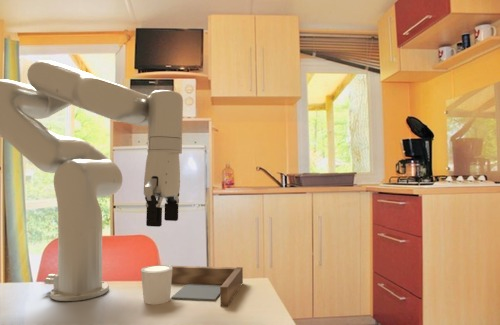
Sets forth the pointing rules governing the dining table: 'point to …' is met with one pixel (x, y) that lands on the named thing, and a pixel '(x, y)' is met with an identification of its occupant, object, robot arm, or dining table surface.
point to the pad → (198, 292)
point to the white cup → (156, 283)
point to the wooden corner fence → (211, 279)
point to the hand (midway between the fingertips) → (163, 223)
